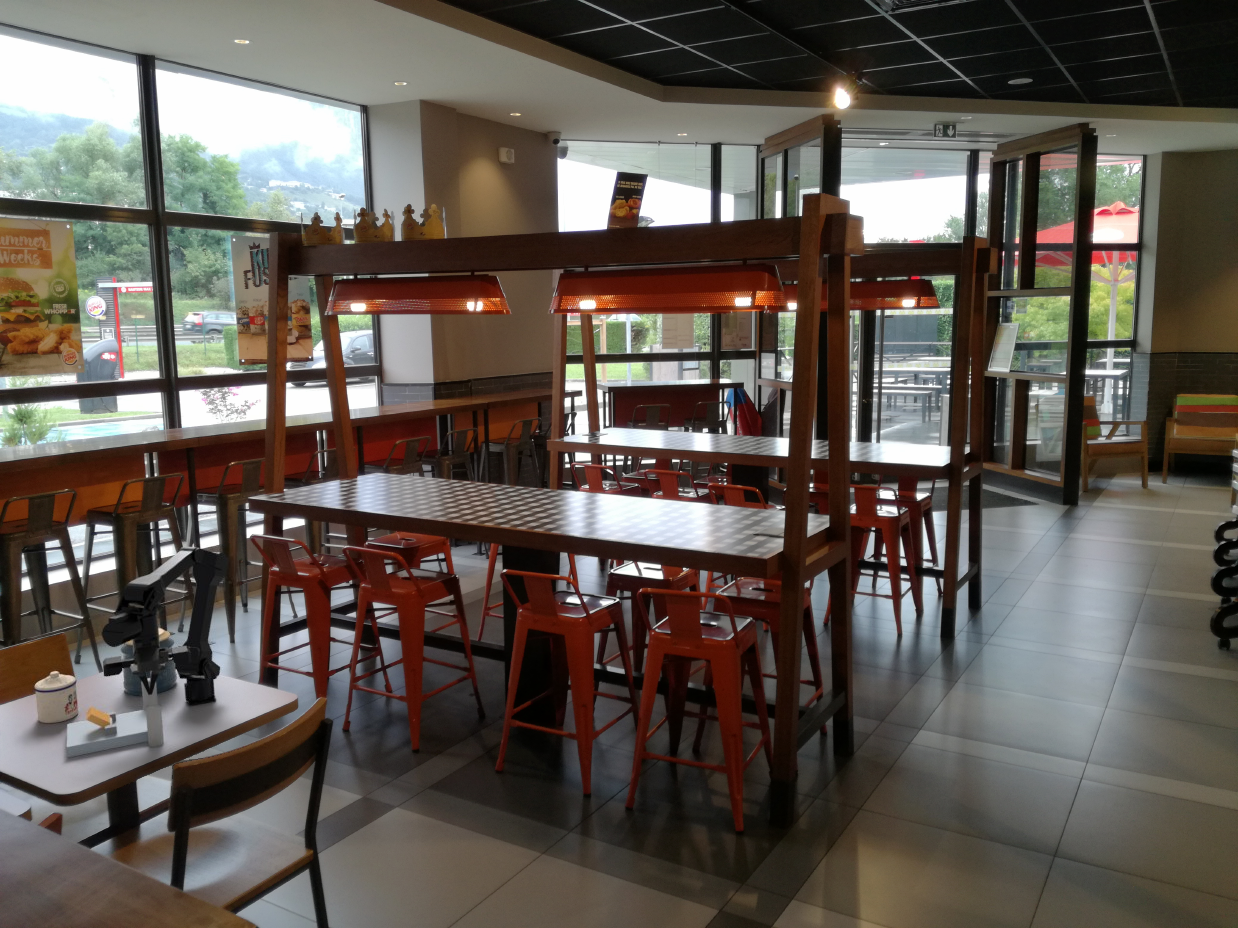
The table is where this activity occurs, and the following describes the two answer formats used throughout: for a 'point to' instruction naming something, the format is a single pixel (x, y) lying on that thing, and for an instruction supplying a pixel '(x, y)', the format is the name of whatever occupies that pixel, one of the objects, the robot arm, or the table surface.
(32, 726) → the table surface
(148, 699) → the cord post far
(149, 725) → the cord post near
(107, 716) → the thick orange slab
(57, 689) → the teacup with lid
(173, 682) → the canister
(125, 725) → the panel
